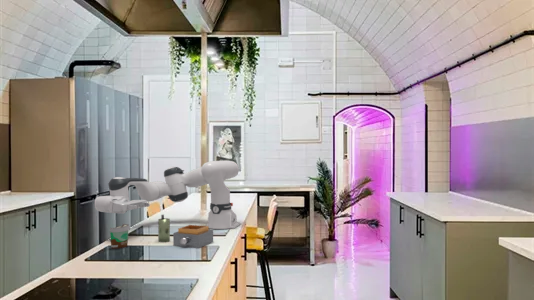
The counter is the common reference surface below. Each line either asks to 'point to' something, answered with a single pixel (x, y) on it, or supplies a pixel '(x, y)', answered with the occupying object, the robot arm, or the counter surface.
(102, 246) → the counter surface
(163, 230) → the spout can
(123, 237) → the food container
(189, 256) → the counter surface
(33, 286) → the counter surface
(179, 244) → the grey drawer box
